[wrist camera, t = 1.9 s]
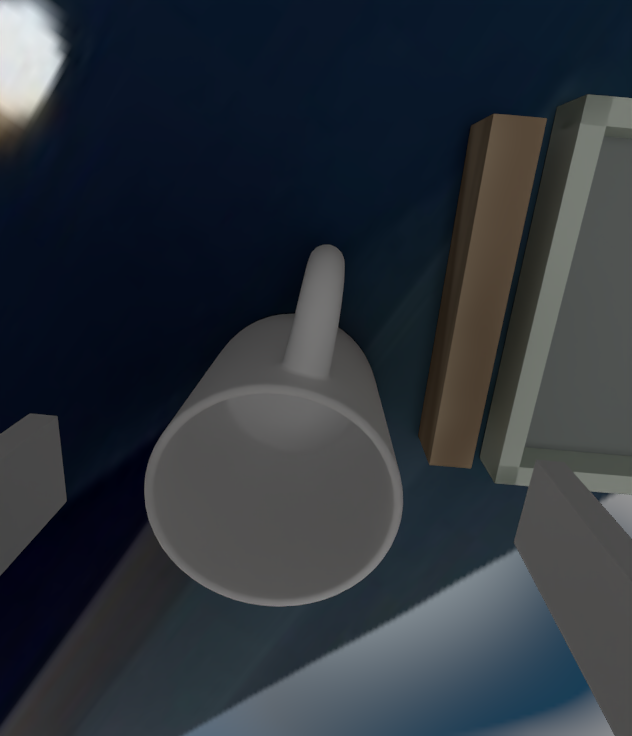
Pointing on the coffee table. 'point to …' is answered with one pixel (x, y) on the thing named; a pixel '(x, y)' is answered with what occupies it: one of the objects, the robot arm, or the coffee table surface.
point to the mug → (280, 459)
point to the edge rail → (478, 282)
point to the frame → (572, 311)
